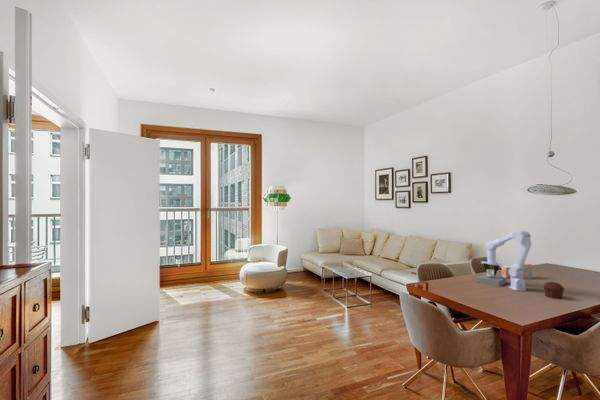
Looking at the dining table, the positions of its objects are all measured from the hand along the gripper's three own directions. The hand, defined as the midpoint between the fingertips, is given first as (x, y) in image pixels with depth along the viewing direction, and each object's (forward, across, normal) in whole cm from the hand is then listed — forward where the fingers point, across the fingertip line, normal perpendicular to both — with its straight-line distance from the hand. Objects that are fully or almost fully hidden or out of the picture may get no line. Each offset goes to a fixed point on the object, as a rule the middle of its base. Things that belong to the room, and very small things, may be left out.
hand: (491, 273), depth 246 cm
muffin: (+7, -41, +7) cm, 42 cm away
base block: (+7, 0, 0) cm, 7 cm away
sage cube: (+2, 0, 0) cm, 2 cm away
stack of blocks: (+7, -7, -34) cm, 36 cm away
